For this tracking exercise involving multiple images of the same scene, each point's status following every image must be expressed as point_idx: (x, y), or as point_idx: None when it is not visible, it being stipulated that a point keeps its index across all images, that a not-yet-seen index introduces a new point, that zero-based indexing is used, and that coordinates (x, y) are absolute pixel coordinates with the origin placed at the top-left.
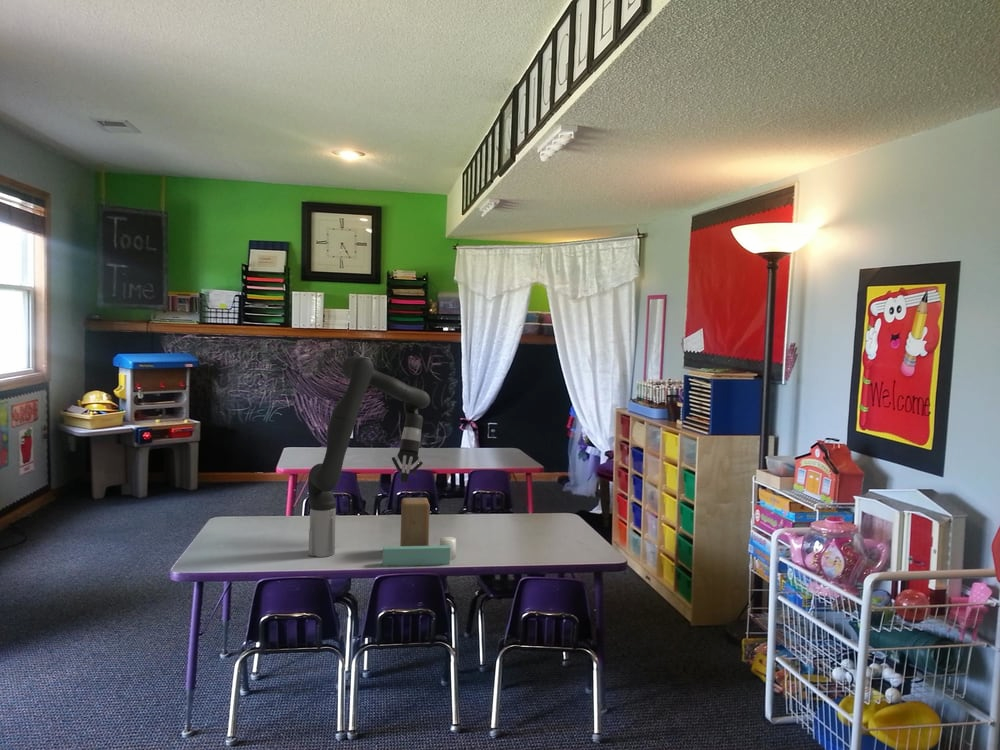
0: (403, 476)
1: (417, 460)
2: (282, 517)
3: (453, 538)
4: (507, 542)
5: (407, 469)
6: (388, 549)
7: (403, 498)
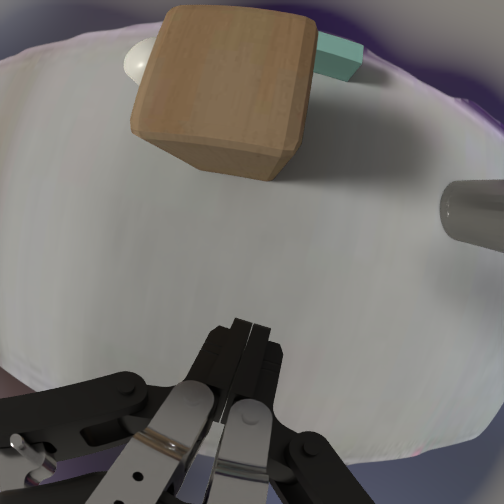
0: (252, 367)
1: (20, 483)
2: (426, 447)
3: (129, 62)
4: (14, 181)
5: (187, 428)
6: (348, 40)
7: (292, 130)
